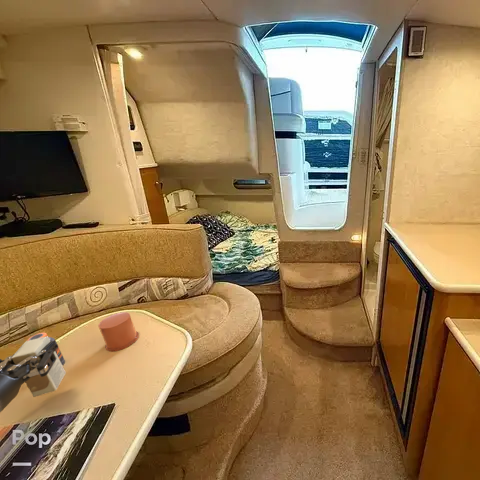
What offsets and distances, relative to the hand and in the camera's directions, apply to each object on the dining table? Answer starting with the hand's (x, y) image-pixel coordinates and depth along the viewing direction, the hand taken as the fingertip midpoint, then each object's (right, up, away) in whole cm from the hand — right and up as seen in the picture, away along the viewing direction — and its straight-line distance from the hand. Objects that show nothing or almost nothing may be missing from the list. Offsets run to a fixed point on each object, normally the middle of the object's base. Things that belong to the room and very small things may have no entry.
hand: (41, 345), depth 66 cm
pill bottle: (-11, -12, +14) cm, 22 cm away
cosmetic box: (+1, -10, +1) cm, 11 cm away
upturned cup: (+3, -8, +23) cm, 25 cm away
